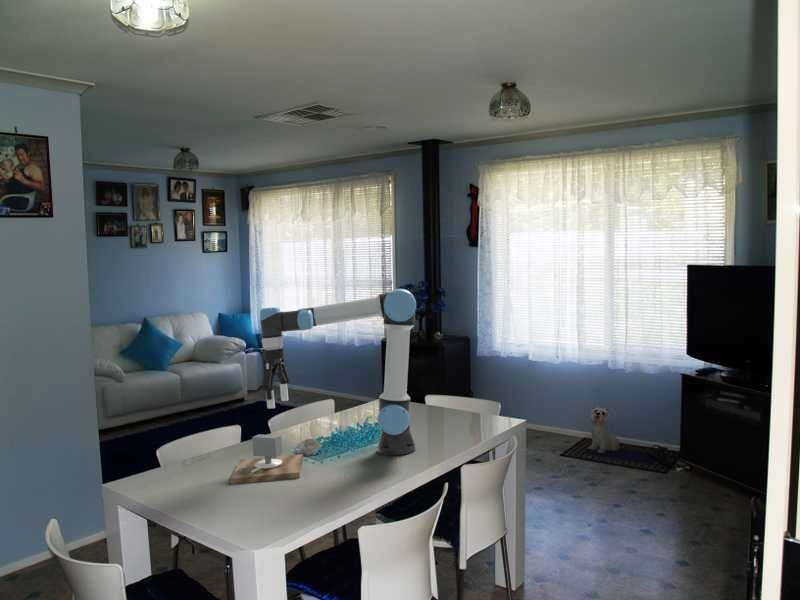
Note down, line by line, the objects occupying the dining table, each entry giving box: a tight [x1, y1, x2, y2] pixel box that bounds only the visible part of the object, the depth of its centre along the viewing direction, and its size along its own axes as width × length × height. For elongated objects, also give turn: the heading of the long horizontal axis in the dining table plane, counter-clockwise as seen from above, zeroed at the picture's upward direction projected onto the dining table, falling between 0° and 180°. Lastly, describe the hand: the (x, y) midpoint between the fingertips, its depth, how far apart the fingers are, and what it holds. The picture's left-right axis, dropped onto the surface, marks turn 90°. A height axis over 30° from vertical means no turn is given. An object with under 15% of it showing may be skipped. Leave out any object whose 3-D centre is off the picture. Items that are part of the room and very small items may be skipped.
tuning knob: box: [251, 434, 283, 473], centre depth 233 cm, size 15×10×11 cm, turn 158°
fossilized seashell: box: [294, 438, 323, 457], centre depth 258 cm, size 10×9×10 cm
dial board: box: [229, 454, 304, 485], centre depth 235 cm, size 24×24×2 cm
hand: (278, 404), depth 239 cm, fingers open, 13 cm apart
